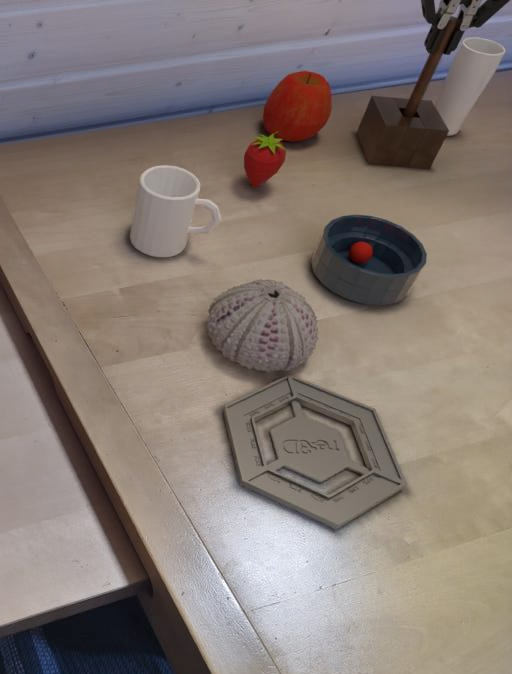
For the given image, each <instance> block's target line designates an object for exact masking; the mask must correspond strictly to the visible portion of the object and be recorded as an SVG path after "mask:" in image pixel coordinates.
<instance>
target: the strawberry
mask: <svg viewBox="0 0 512 674" xmlns="http://www.w3.org/2000/svg"><path fill="white" fill-rule="evenodd" d="M277 132H278V131H277ZM277 132H276V133H277ZM274 134H275V133H274ZM274 134H272V135H270V134H269V136H266V135H264V134H262V133H260V134H259V136H253V137H252V138H253V139H255V140H254V141H253V142H251V143H250V144H249V145H248V146H247V148H246V150H245V152H244V154H243V159H244V160H243V169H244V172H245V176H246V178H247V180H248V182H249V185H250V186H251V188H258V187H259V186H261V185H262V184H264V183H265V182H267V181H268V180H270V179H271V178H272V177H273V176H275V175H276V174H277V173H278V172H279V171H280V169H281V167H282V166H283V165H284V164H285V160H286V156H287V150H286V148H285V146H284V144H283V143H282V142H281V141H284V140H283V139H278V138H276V137H274Z"/></svg>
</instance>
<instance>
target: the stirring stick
mask: <svg viewBox="0 0 512 674" xmlns="http://www.w3.org/2000/svg"><path fill="white" fill-rule="evenodd" d="M458 21H459V19H458V18H457V16H452V15H451V17H450V19H449V21H448V23H447V25H446V27H445V28H444V29H445V31H444V33H443V35H442V38H441V40H440V42H439V44H438V46H437V49H436V51H435V53H434V54H431V53H428V56H427V58H426V61H425V63H424V65H423V66H422V70H421V72H420V74H419V76H418V79H417V80H416V83H415V85H414V87H413V89H412V92H411V94H410V96H409V98H408V99H409V100H408V103H407V105H406V107H405V109H404V111H403V114H402V116H405V117H414V115H415V113H416V111H417V109H418V107H419V104H420V102H421V100H423V98H424V96H425V94H426V92H427V89H428V87H429V85H430V83H431V81H432V79H433V76H434V75H435V72H436V70H437V68H438V66H439V63H440V62H441V59H442V57H443V55H444V54H443V53H444V51H445V49H446V47H447V44H448V42H449V40H450V38H451V36H452V34H453V32H454V29H455V27H456V25H457V23H458Z"/></svg>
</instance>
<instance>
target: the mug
mask: <svg viewBox="0 0 512 674" xmlns="http://www.w3.org/2000/svg"><path fill="white" fill-rule="evenodd" d="M201 187H202V186H201V182H200V180H199V179H198V177H197V176H195V174H194V173H193V172H192V171H189V170H187V169H185V168H183V167H180V166H176V165H175V166H174V165H169V164H168V165H160V164H159V165H156V166H151V167H149V168H147V169H145V170H144V171H143V172H142V173H141V174H140V177H139V182H138V187H137V193H136V199H135V205H134V209H133V216H132V221H131V226H130V232H129V239H130V243H131V244H132V246H133V247H134V248H135V249H136V250H138V252H141V253H142V254H144V255H146V256H149V257H154V258H171V257H174V256H175V257H176V256H177V255H178V254H181V253H182V252H183V251H184V250H185V248H186V247H187V243H188V240H189V239H188V238H189V235H190V234H191V235H205V234H209V233H210V232H211V231H212V230H213V229H214V228H215V227H216V226H217V225H218V224H219V223H220V222H221V221H223V219H222V215H221V211H220V209H219V205H217V204H216V203H214V202H213V201H212V200H211V199H207V198H199V197H200V196H199V195H200V191H201ZM197 206H198V207H200V206H201V207H203V208H205V209H206V210H208V211H209V212H210V215H211V218H212V219H211V220H210V221H208V223H207V224H205V225H203V226H192V223H193V219H194V215H195V211H196V208H197Z"/></svg>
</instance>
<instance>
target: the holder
mask: <svg viewBox="0 0 512 674" xmlns="http://www.w3.org/2000/svg"><path fill="white" fill-rule="evenodd" d="M408 100H409V98H403V97H393V96H381V95H371V96H370V99H369V101H368V103H367V105H366V109H365V111H364V114H363V116H362V118H361V121H360V123H359V126H358V127H357V130H356V133H355V134H356V136H357V138H358V141H359V144H360V146H361V149H362V150H363V153H364V155H365V158H366V160H367V163H368V164H369V165H379V166H388V167H389V166H392V167H400V168H401V167H403V168H411V169H423V170H425V169H426V170H430V169H431V167H432V165H433V163H434V161H435V159H436V158H437V156H438V153H439V152H440V150H441V148H442V146H443V144H444V142H445V140H446V138H447V137H448V136H447V134H448V132H449V129H448V128H447V126H446V124H445V123H444V121H443V119H442V118H441V116H440V114H439V113H438V111H437V109H436V107H435V104H434V103H433V102H434V101H432V100H428V99H422V100H421V102H420V104H419V107H418V109H417V111H416V113H415V115H414V117H405V116H402V114H403V111H404V109H405V107H406V105H407V103H408Z"/></svg>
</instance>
